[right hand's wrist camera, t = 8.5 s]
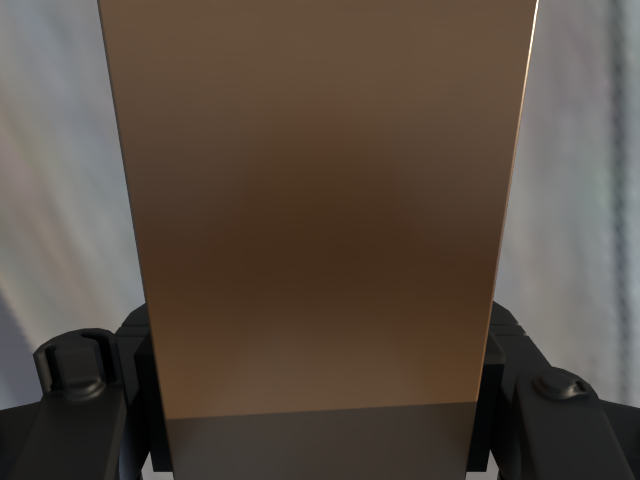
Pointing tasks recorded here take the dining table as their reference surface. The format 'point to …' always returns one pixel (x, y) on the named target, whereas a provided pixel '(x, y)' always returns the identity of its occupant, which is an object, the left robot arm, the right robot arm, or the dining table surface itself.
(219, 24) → the beam
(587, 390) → the right robot arm
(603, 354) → the dining table surface
